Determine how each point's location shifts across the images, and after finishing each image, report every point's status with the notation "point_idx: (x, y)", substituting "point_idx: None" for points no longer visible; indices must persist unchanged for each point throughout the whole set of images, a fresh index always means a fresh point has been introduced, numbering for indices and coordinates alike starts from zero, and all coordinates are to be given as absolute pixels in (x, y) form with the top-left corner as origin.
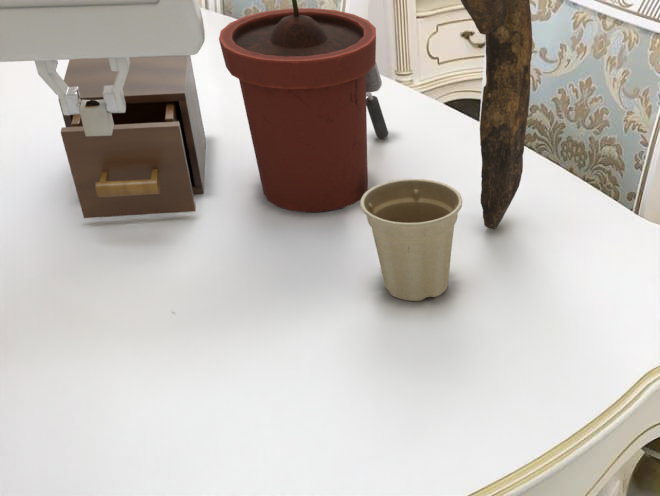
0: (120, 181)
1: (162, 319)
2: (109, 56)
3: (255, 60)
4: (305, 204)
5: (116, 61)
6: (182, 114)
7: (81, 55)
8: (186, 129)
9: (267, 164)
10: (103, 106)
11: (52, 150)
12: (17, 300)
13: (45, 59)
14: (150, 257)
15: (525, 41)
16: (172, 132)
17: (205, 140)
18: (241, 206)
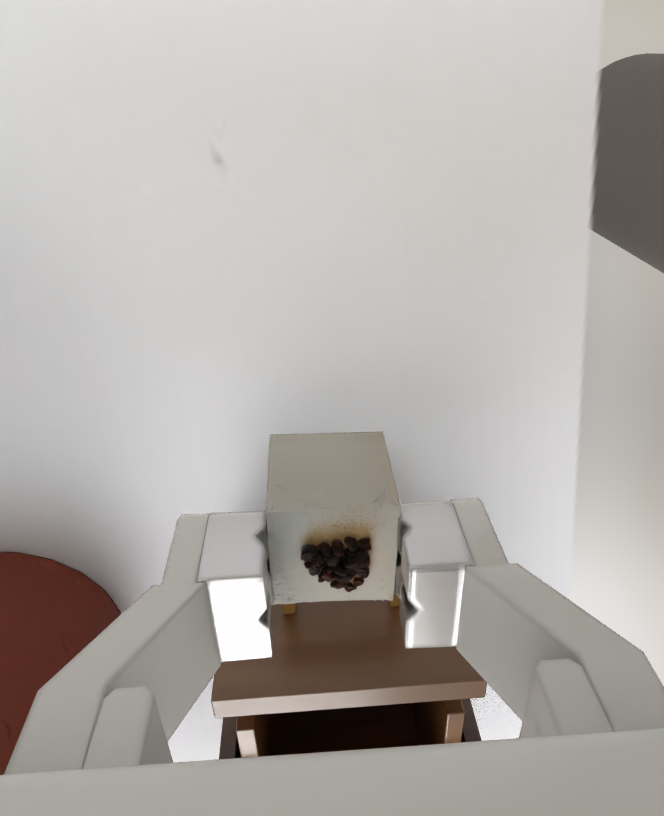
0: None
1: (240, 128)
2: (89, 776)
3: None
4: (9, 563)
5: (84, 752)
6: (232, 756)
7: (326, 775)
8: (233, 726)
9: (64, 642)
10: (277, 532)
11: (498, 730)
12: (574, 256)
13: (625, 732)
14: (304, 409)
15: None
16: (230, 686)
17: None
18: (154, 576)
